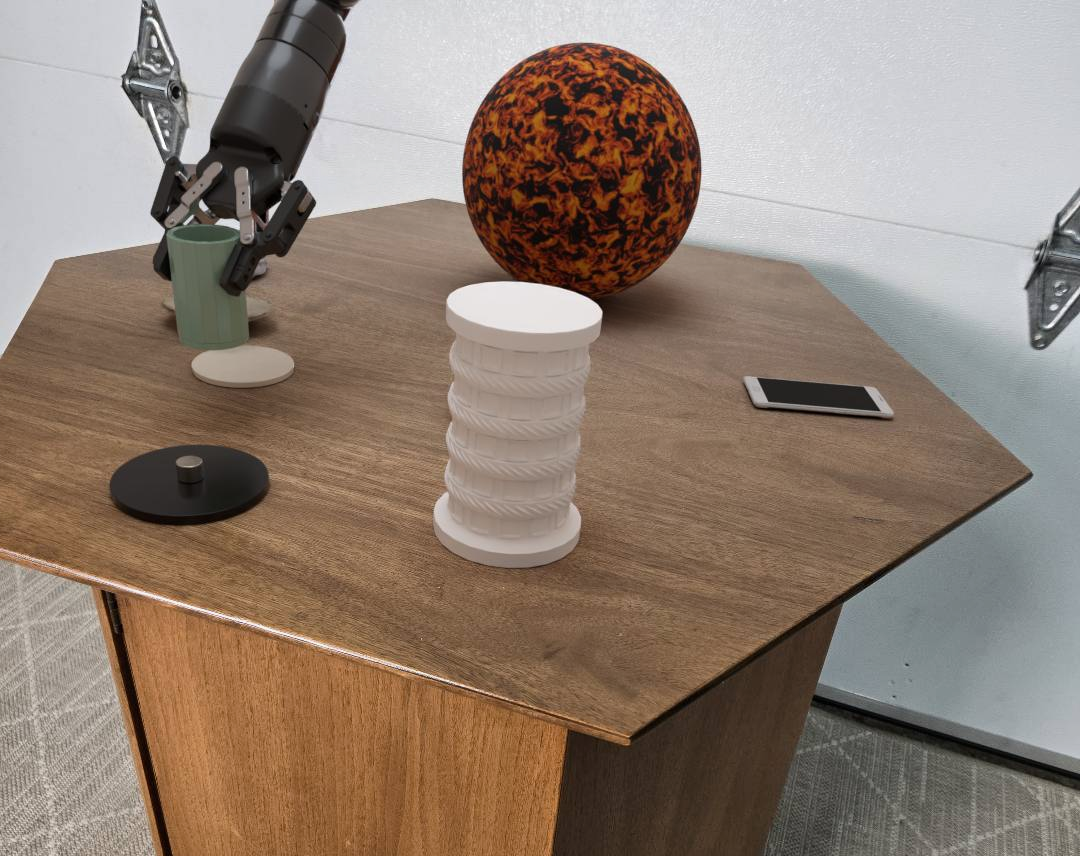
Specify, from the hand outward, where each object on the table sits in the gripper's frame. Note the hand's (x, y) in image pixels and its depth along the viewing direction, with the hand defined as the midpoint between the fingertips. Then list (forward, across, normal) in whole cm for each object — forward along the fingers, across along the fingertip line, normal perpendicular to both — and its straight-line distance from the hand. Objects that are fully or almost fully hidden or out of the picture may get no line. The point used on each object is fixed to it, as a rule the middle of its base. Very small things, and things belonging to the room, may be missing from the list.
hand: (195, 282), depth 81 cm
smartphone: (-18, +49, +37) cm, 64 cm away
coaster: (0, -6, +18) cm, 19 cm away
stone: (-17, -26, +36) cm, 47 cm away
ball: (-31, +13, +50) cm, 60 cm away
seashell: (-6, -15, +25) cm, 30 cm away
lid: (+16, +6, +2) cm, 17 cm away
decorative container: (+11, +30, +8) cm, 33 cm away
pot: (+3, 0, +5) cm, 6 cm away
